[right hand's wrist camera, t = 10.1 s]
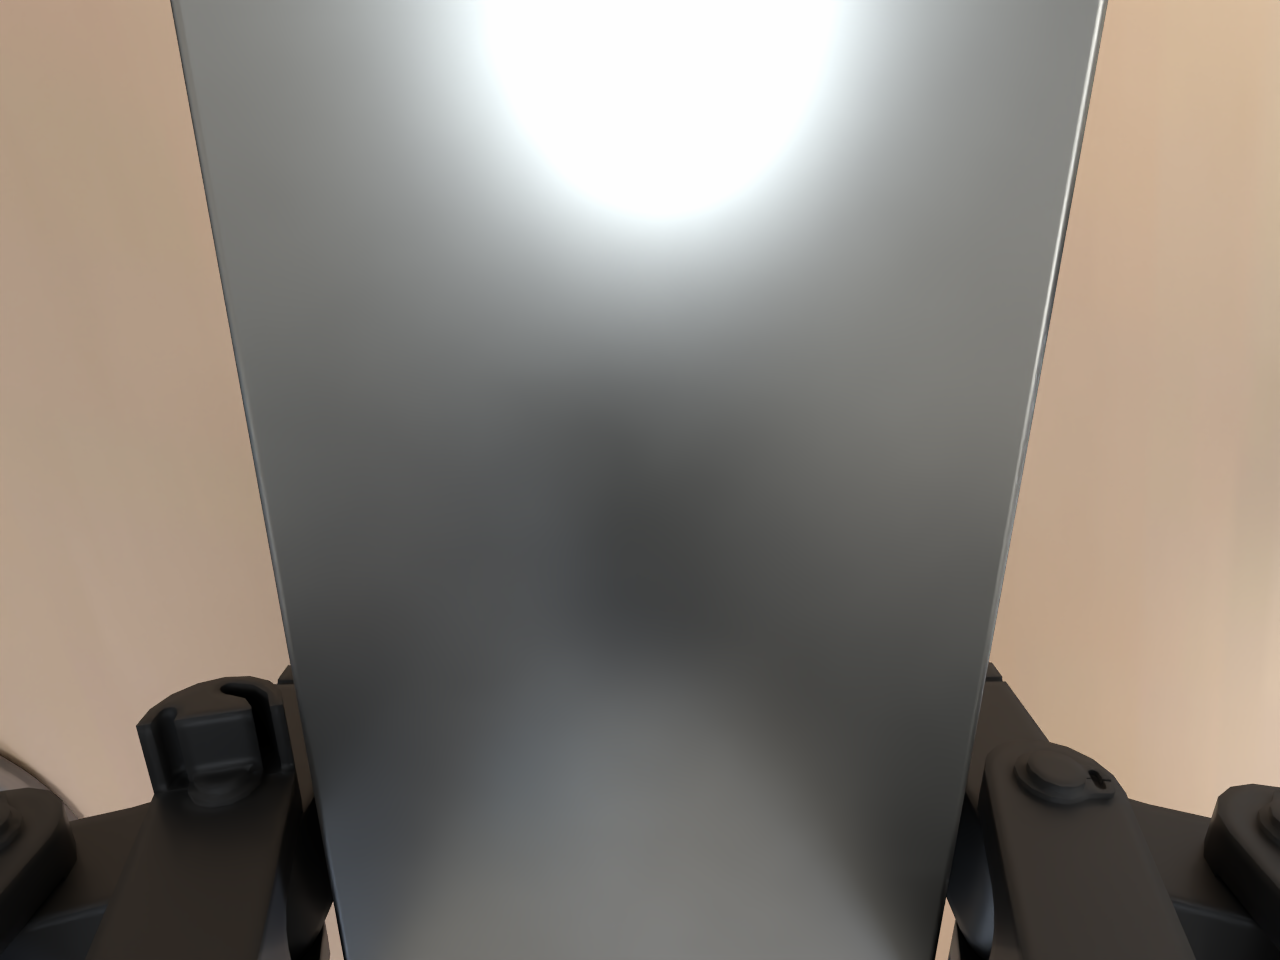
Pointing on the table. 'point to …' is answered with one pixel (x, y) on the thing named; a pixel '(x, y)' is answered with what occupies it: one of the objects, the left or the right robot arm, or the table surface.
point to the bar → (639, 443)
